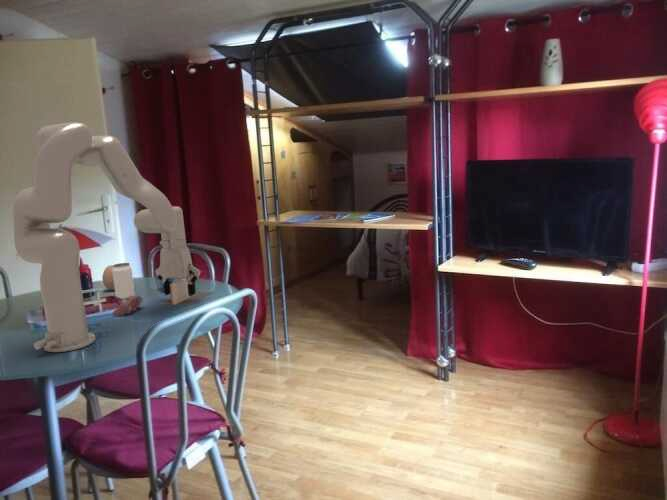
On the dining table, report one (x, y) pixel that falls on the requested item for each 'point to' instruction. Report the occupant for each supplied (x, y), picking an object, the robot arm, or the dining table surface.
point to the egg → (108, 278)
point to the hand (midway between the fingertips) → (180, 294)
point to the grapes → (162, 283)
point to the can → (123, 280)
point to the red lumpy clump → (128, 305)
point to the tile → (179, 291)
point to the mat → (190, 298)
